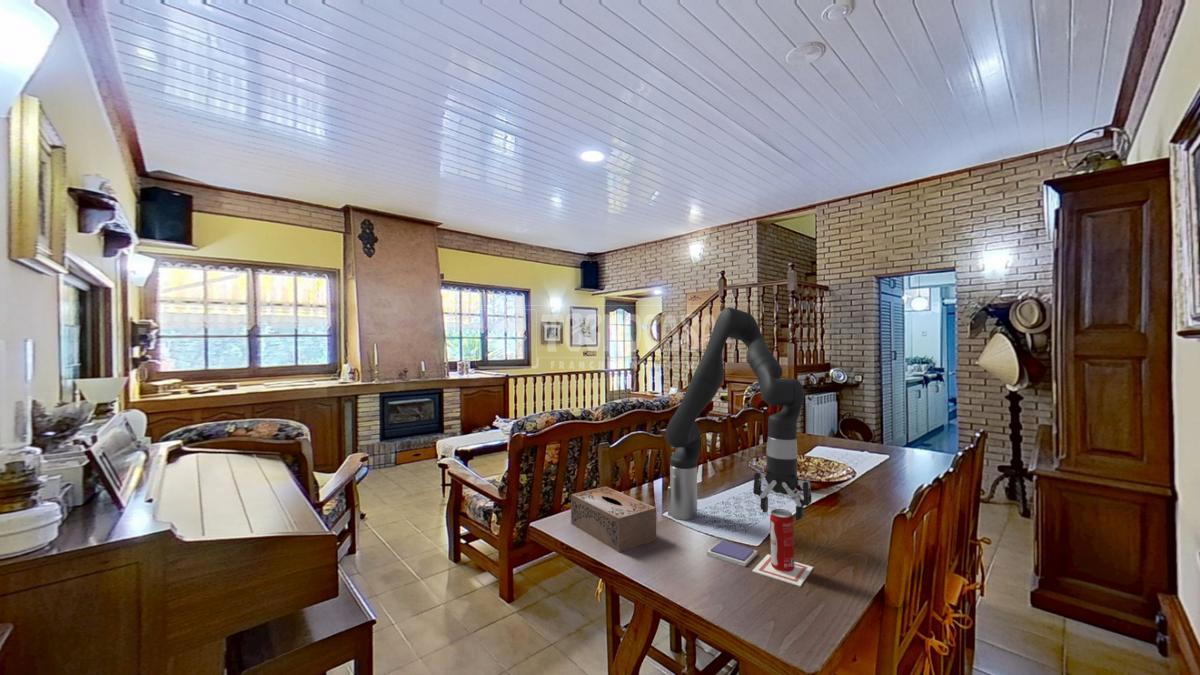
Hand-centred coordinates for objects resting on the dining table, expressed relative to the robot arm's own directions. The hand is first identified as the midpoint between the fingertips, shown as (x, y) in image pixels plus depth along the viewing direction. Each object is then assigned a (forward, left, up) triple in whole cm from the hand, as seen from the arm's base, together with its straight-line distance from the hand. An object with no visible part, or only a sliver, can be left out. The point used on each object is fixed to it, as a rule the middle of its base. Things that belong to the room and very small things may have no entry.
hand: (781, 515), depth 122 cm
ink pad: (-14, 0, -14) cm, 20 cm away
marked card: (0, 0, -14) cm, 14 cm away
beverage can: (0, 0, -14) cm, 14 cm away
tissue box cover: (-50, -8, -15) cm, 53 cm away
